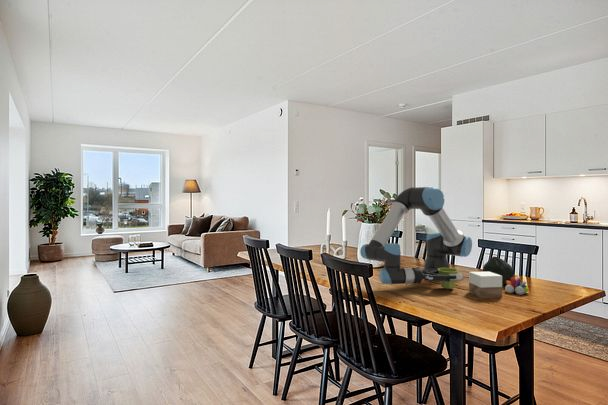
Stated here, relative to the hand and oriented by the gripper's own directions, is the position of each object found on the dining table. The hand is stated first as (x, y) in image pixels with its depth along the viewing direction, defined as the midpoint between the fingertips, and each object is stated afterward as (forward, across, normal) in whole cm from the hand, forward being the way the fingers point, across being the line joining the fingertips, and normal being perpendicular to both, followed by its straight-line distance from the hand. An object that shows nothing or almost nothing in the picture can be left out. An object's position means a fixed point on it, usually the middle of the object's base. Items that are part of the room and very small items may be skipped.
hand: (457, 274), depth 186 cm
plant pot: (-5, 0, -6) cm, 8 cm away
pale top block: (+7, +12, -2) cm, 14 cm away
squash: (+26, -9, -7) cm, 29 cm away
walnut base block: (+7, +12, -7) cm, 16 cm away
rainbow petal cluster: (+24, +10, -7) cm, 27 cm away
